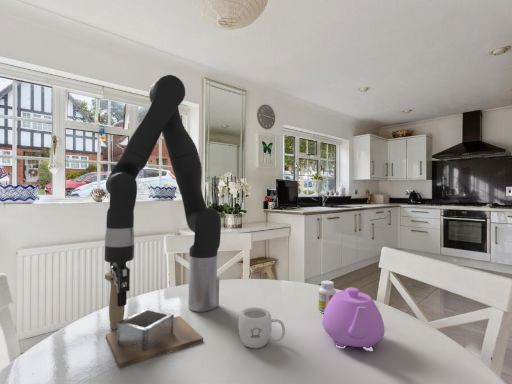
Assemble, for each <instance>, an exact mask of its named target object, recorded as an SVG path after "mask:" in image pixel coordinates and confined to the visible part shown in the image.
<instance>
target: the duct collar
mask: <svg viewBox="0 0 512 384" xmlns="http://www.w3.org/2000/svg"><path fill="white" fill-rule="evenodd" d="M174 317H175V314H173V313H171V312H165V311H160V310H157V309H152V308H150V307H149V308H146V309H143V310H141V311H139V312H137V313H135V314H133V315H130V316H128V317H126V318H124V319H123V320H122V321H120V322H118V323H117V329H116V331H117V343H118V344H122V345H125V346H128V347H131V348H134V349H138V350H141V351H144V352H145V351H147V350H148V349H150V348H152V347H153V346H155V345H156V344H158V343H159V342H161V341H162V340H164V339H165V338H167V337H168V336H170V335H171V334H173V325H174Z"/></svg>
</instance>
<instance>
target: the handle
mask: <svg viewBox="0 0 512 384" xmlns="http://www.w3.org/2000/svg"><path fill="white" fill-rule="evenodd" d="M123 278H124V277H123ZM104 279H105V280H106V281H108V282H110V291H109V303H108V304H109V306H108V316H109V319H108V320H109V327H110V328H111V329H112V330H117V323H118V322H120V321H122V320H124V319H125V306H126V305H125V306H120V307H119V306H118V305H117V286H116V285H115V284H114V276H113V275H112V273H111V272H110V271H109V272H106V273H105V274H104ZM117 280H118V281H119V278H118V277H117ZM122 287H125V286H124V284H122Z"/></svg>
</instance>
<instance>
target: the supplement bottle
mask: <svg viewBox="0 0 512 384" xmlns="http://www.w3.org/2000/svg"><path fill="white" fill-rule="evenodd" d="M320 284H321V285H320V286H321V287H319V289H318V311H319V310H320V311H321V312H324V310H325V308H326V306H327V304H328V303H329V301H330V300H331V298H332V297H333V296H334V294H335V293H337V291H336V289H335V288H334V287H335V283H334V281H332V280H322V281H321V283H320ZM321 312H320V313H321Z"/></svg>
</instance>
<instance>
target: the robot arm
mask: <svg viewBox="0 0 512 384" xmlns="http://www.w3.org/2000/svg"><path fill="white" fill-rule="evenodd" d="M148 97H149V101H150V103H151V104H150V106H149V108H148V109H147V112H146V113H145V115H144V116H143V118H142V119H141V121H140V123H139V124H138V126H137V127H136V128H135V130H134V132H133V133H132V134H131V136H130V138H129V140H128V142H127V144H126V145H125V147H124V150H123V152H122V154H121V157H120V158H119V159H118V161H117V162H116V164H115V165H114V167H113V168H112V170H111V172H110V173H109V175H108V177H107V180H106V181H105V188H106V191H107V193H109V208H108V209H107V212H106V225H105V228H106V229H105V234H104V261H105V262H107V263H109V272H111V273H112V275H113V276H114V284H115V285H116V286H117V305H118V306H119V307H120V306H126V305H127V300H128V299H127V298H128V297H127V295H128V294H127V293H128V292H130V290H131V289H130V287H131V286H130V282H131V281H130V277H131V274H130V273H131V270H130V269H131V268H129V266H127V262H130V261H132V260H133V259H134V258H135V256H134V255H135V229H134V226H135V225H134V224H135V216H134V215H135V214H134V213H135V211H134V210H135V206H136V201H137V197H138V196H137V194H138V184H137V180H136V179H137V177H138V175H139V173H140V172H141V171H142V170H143V169H144V168H145V167H146V166H147V164H148V162H149V160H150V157H151V155H152V153H153V152H154V149H155V147H156V146H157V143H158V141H159V138H160V137H161V135H162V137H163V140H164V143H165V146H166V150H167V154H168V158H169V161H170V165H171V168H172V171H173V173H174V177H175V180H176V183H177V187H178V189H179V192H180V195H181V199H182V204H183V209H184V216H185V221H186V223H187V227H188V228H189V230H190V231H192V232H193V233H194V240H193V244H192V245H191V246H190V248H189V259H188V261H189V264H188V265H189V266H188V268H189V269H188V271H189V272H188V301H187V303H188V305H187V306H188V309H189V310H190V311H193V312H197V313H198V312H199V313H200V312H201V313H202V312H203V313H204V312H209V311H213V310H215V308H217V307H219V306H220V277H218V251H219V248H220V244H221V234H222V220H221V216H220V213H219V212H218V210H216V209H215V208H213V207H208V206H207V203H206V202H205V198H204V195H203V191H202V177H203V169H202V168H203V167H202V162H201V159H200V156H199V152H198V149H197V146H196V143H195V142H194V141H193V138H192V137H191V136H190V134H189V132H188V131H187V130H186V128H185V126H184V124H183V121H182V117H181V114H180V110H179V106H180V105H181V104H182V102H183V101H184V99H185V97H186V87H185V84H184V82H183V81H182V80H181V79H180V78H179V77H178V76H176V75H173V74H166V75H165V74H164V75H163V76H160V77H159V78H158V79H156V80H155V81H154V83H152V84H151V86H150V87H149V92H148ZM117 277H118V278H119V281H118V280H117ZM123 277H124V278H123ZM122 284H124V287H122Z"/></svg>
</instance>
